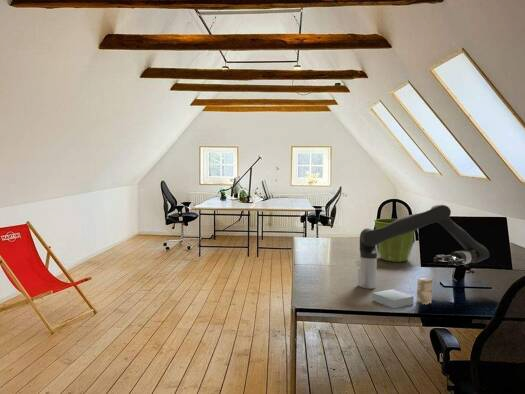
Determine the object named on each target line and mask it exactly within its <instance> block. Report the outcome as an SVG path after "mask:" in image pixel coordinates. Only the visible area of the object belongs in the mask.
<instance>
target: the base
mask: <svg viewBox="0 0 525 394" xmlns="http://www.w3.org/2000/svg"><path fill="white" fill-rule="evenodd" d="M372 301H373V302H376V303H379V304H381V305H383V306H386V307H389V308H391V309H398V308H401V307H405V306H406V305H407V306H410V305H413V304H414V296H413V295H411V294H408V293H405V292H402V291H399V290H397V289H393V288H391V289H387V290H386V289H385V290H381V291H377V292H372Z"/></svg>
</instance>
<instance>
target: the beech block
mask: <svg viewBox="0 0 525 394" xmlns="http://www.w3.org/2000/svg"><path fill="white" fill-rule="evenodd" d="M416 291H417V292H416V303H419V302H420V303H419V304H421V303H422V305H424V304H425V305H429V303H430V304H432V298H433V297H432V295H433V279H430V278H426V277H421V278H417V288H416Z"/></svg>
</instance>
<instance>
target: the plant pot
mask: <svg viewBox="0 0 525 394" xmlns="http://www.w3.org/2000/svg"><path fill="white" fill-rule="evenodd" d="M397 219H398V218H377V219H374V227H375V230H376V229H379V228H383V227H385V226H387V225H389V224H390V223H392V222H393V221H395V220H397ZM415 231H416V230H414V231H412V232H409V233H406V234H403V235H400V236H397V237H394V238H390V239H387V240H385V241H383V242H381V243H379V244H377V245H378V249H379V252H380V259H381V260H384V261H386V262H393V263H394V262H395V263H396V262H397V263H400V262H401V263H402V262H406V261H408V260H409V254H410V251H411V248H412V244H413V241H414V236H415Z"/></svg>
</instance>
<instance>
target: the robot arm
mask: <svg viewBox="0 0 525 394" xmlns="http://www.w3.org/2000/svg"><path fill="white" fill-rule="evenodd" d="M451 212H452V211H451V208H450V207H449V206H447V205H445V204H437V205H434V206H432V207H430V209H428V210H426V211H423V212H419V213H414V214H409V215H406V216H403V217H400V218H396V219H397V220H395V221H393V222H392V223H390V224H389V225H387V226H385V227H383V228H379V229H376V228H375V229H373V228H363V229H362V230H361V232H360V234H359V253H360V255H359V256H360V257H359V258H360V259H359V269H358V272H357V273H358V277H357V279H358V280H357V283H358V284H357V285H358V286H359V287H360V288H363V289H376V288H377V268H378V267H377V266H378V265H377V264H378V252H377V248H376V247H377V245H378V244H379V243H381V242H383V241H385V240H387V239H390V238H394V237H397V236H400V235H403V234H406V233H409V232H412V231H414V230H415V231H417V230H419V229H421V228H423V227H425V226H428V225H431V224H434V223H438V224H439V225H440V226H441V227H443V228H444V229H445V230H446V232H448V233H449V234H450V235H451V236H452V237H453V238H454V239H455V240H456V241H457V242H458V243H459V245H461V247H462V249H464V250H457V251H452V252H451V253H450V254H447V255H445V254H436V255H435V256H434V257H433V262H434V263H435V262H448V265H452V264H453V265H455V266H459V265H464V266H465V265H468V264H477V263H479V262H482V261H484V260H487V259H488V258H490V252H489V250H488V249H487V247H486V246H484V245H483V244H481V243H480V242H478V241H476V240H475V239H474V238H473V237H472V236H471V235H470V234H469V233H468V232H467V231H466V230H465V229H463V228H462V227H461V226H459V225H458V224H457V223H456V222H454V221H453V219H451V217H450V216H451ZM415 231H414V232H415Z"/></svg>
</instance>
